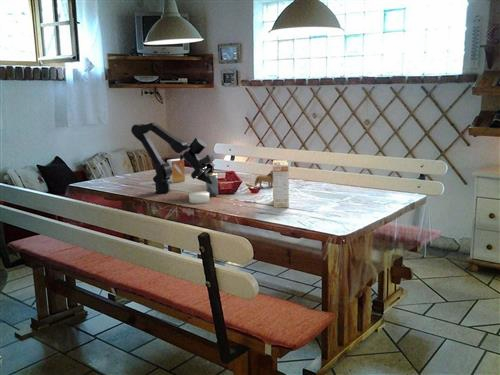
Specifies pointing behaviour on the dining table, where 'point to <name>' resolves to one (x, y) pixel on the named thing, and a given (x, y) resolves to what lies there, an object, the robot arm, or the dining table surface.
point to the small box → (177, 170)
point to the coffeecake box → (280, 183)
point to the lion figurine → (265, 179)
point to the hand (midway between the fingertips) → (214, 182)
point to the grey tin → (214, 186)
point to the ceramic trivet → (199, 197)
